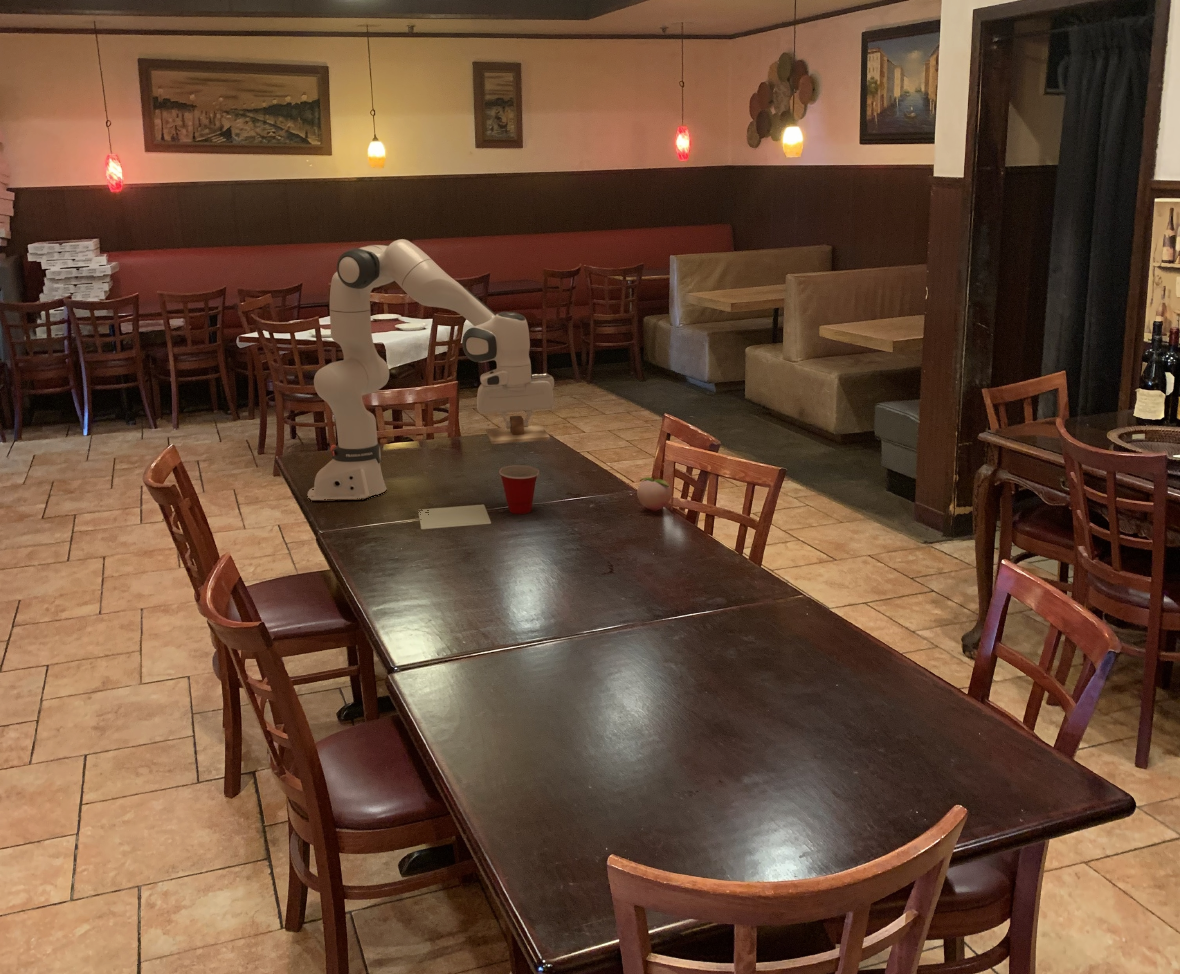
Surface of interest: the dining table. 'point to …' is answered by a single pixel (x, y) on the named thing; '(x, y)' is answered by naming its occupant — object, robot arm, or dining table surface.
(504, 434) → the lid
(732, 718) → the dining table surface
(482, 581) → the dining table surface
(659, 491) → the decorative fruit
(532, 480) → the plastic cup
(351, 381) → the robot arm
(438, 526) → the mat
